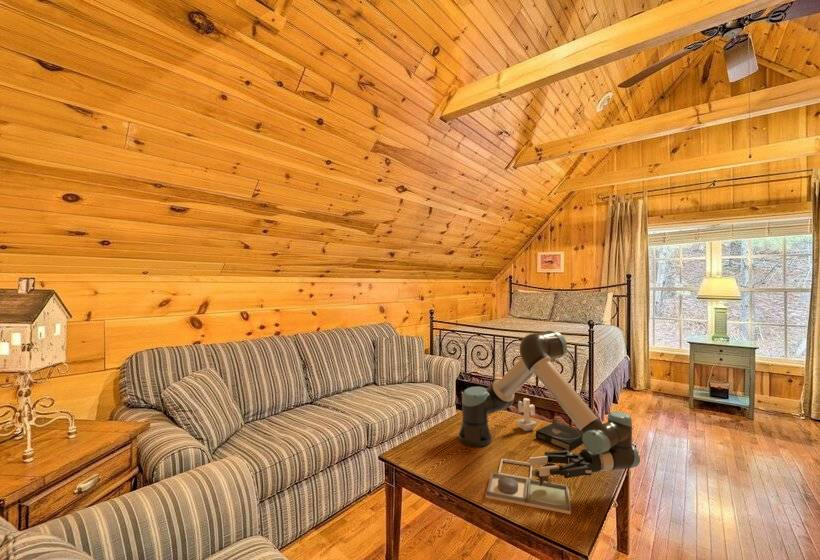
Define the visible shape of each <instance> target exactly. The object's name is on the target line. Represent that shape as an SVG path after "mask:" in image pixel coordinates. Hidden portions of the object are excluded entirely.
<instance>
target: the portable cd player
mask: <svg viewBox="0 0 820 560" xmlns="http://www.w3.org/2000/svg"><path fill="white" fill-rule="evenodd" d="M535 432H536V433H535V439H537V440H540V441H543V442H544V443H546V444H549V445H551V446H554V447H557V448H560V449H561V450H563V451H564V450H570V452H571V451H573V450H575V449H576V448H578V447H581V446H582V445H584V443H583V441H582V437H583V434H582V432H581V431H580V430H579V429H578V428H576V427H572V426H570V425H567V424H564V423H561V422H558V421H555V422H552V423H550V424H548V425H545V426H543V427H542V428H539V429H537V430H536V431H535Z"/></svg>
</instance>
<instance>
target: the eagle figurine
mask: <svg viewBox="0 0 820 560" xmlns="http://www.w3.org/2000/svg"><path fill="white" fill-rule="evenodd" d="M555 465H556V463H548V464H545V465H541V467H546V466H555ZM538 469H539V468H538ZM538 469H537V468H535V469H532V477H535V478H536V480H539V481H540V486H541V485H542V484H543V482H548V483H549V484H550V485H552V484H551V483H552V481H553V480H552V479H550V475H549V476H540V475H539V470H538Z"/></svg>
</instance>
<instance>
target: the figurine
mask: <svg viewBox="0 0 820 560" xmlns="http://www.w3.org/2000/svg"><path fill="white" fill-rule="evenodd" d="M530 401H531V400H530V398H527V397H524V398H523V400H522V401H521V400H518V402H517V409H518V412H519V413H523V417H522V418H520V419H515V421H516V423H517V426H519V428H520V429H521V430H523V431H524V432H530V431H533V430H534V429H535V427H536V426H537V424H538V422H536V421H535V420H534V419H533V420H532V419H531V418H530V414H531V416H535V415H536V410H535V409H536V407H535V405H534V404H530V403H531V402H530Z"/></svg>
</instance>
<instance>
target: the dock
mask: <svg viewBox="0 0 820 560" xmlns="http://www.w3.org/2000/svg"><path fill="white" fill-rule="evenodd" d="M504 474H505V473H503V474H498V472H491V474H490V476H489V477H490V478H489V481H488V485H487V489H486V492H485V498H486V499H490V500H496V501H499V502H500V501H501V502H505V503H509V504H510V503H511V504H517V505H521V506H527V507H532V508H535V509H542V510H547V511H552V512H557V513H563V514H567V515H571V514H572V513H571V512H572V511H571V509H572V508H571V499H570V498H571V497H570V490H569V486H568V485H566V484H561V483H555V482H551V484H552V485H550V484H549V483H548V482H546V481H544V482H543V484H542V485H541V486H540V481H539V480H537V479H533V478H531V479H529V481H528V479H527V478H528V477H527V478H521V477H522V476H521V477H515V476H516V475H515V476H510V475H511V474H509V475H504Z"/></svg>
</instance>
